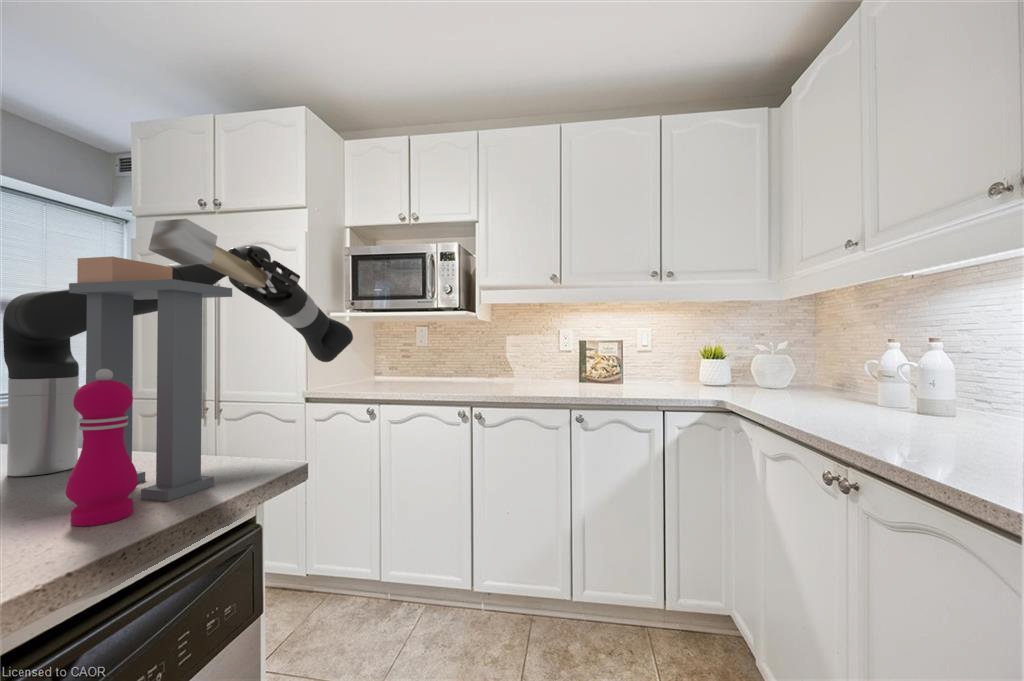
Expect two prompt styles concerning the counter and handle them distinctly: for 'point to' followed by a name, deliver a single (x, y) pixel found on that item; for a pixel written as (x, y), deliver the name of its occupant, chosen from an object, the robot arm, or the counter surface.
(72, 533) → the counter surface
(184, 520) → the counter surface
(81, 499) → the pepper mill
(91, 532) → the counter surface
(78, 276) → the base block
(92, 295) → the shelf
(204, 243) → the mallet
